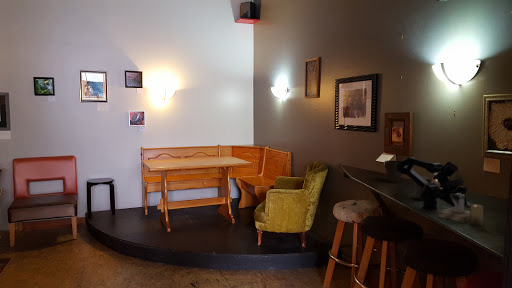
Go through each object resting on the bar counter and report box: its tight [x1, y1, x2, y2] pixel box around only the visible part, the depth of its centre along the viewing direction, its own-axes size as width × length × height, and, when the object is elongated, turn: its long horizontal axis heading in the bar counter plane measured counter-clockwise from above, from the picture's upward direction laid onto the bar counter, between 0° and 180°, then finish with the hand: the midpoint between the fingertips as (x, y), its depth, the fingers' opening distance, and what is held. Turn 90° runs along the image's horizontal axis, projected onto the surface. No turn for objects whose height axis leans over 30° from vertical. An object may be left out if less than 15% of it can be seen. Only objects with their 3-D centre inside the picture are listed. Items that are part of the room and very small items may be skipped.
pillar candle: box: [413, 176, 432, 201], centre depth 258 cm, size 10×10×15 cm
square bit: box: [451, 193, 466, 214], centre depth 216 cm, size 4×4×13 cm
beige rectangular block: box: [468, 203, 484, 227], centre depth 203 cm, size 6×6×10 cm
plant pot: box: [384, 160, 403, 184], centre depth 311 cm, size 15×15×16 cm
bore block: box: [437, 207, 470, 224], centre depth 216 cm, size 14×14×3 cm
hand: (460, 205), depth 214 cm, fingers open, 9 cm apart
